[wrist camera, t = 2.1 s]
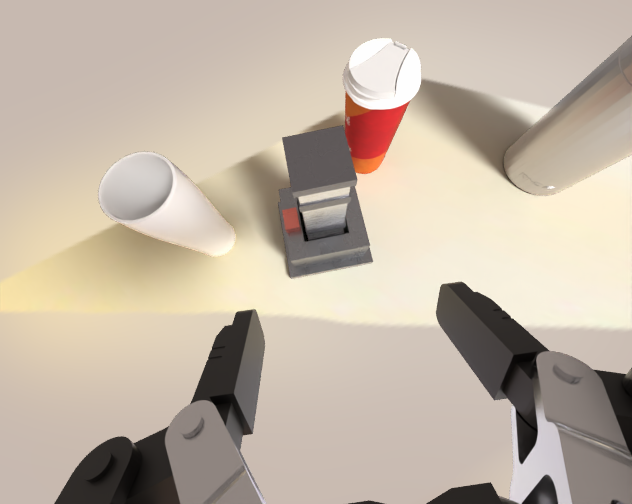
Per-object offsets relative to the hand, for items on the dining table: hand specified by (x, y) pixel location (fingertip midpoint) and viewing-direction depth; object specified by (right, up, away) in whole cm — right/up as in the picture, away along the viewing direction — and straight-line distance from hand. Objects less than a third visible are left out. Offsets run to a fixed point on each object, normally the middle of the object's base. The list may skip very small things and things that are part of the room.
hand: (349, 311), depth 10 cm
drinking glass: (-15, +4, +24) cm, 29 cm away
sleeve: (0, +5, +23) cm, 24 cm away
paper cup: (+6, +17, +26) cm, 31 cm away
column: (0, +5, +23) cm, 24 cm away
